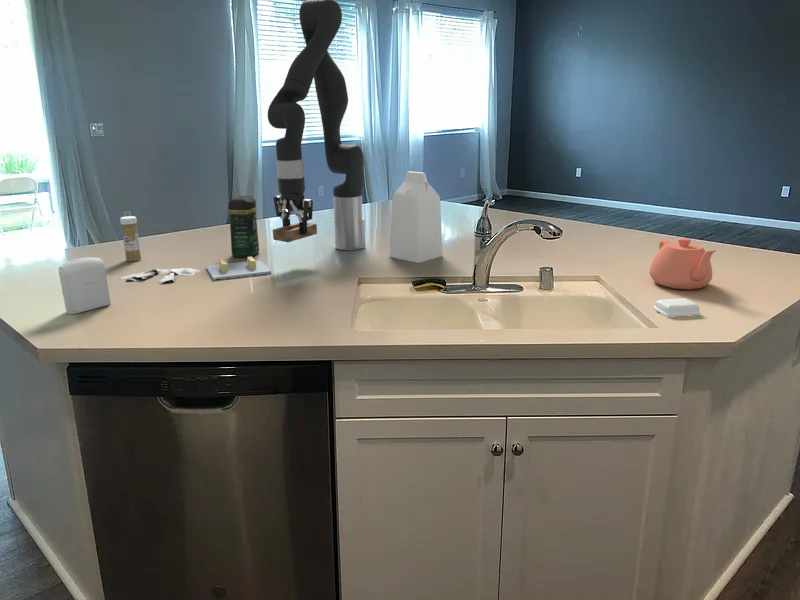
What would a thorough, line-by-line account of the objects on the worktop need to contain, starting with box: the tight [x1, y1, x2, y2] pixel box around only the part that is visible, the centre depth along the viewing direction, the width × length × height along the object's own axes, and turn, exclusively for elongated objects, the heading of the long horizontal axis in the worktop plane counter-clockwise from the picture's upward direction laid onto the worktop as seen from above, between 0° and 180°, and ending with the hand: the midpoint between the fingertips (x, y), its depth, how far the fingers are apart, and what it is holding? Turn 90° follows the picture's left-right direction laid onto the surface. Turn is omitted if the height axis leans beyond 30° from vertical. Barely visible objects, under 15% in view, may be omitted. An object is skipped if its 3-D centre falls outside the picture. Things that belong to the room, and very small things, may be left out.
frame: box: [272, 222, 318, 243], centre depth 188 cm, size 12×6×3 cm, turn 144°
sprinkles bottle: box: [119, 215, 142, 263], centre depth 196 cm, size 5×5×13 cm
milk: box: [389, 171, 443, 264], centre depth 197 cm, size 12×12×26 cm
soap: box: [652, 297, 701, 318], centre depth 148 cm, size 9×7×3 cm
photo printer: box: [58, 256, 111, 315], centre depth 152 cm, size 10×4×12 cm, turn 140°
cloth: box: [120, 267, 200, 285], centre depth 179 cm, size 20×22×2 cm
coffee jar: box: [227, 195, 260, 259], centre depth 201 cm, size 10×8×19 cm
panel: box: [206, 256, 272, 281], centre depth 185 cm, size 16×14×3 cm
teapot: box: [648, 237, 717, 290], centre depth 168 cm, size 22×15×12 cm
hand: (295, 232), depth 188 cm, fingers closed on frame, 6 cm apart
